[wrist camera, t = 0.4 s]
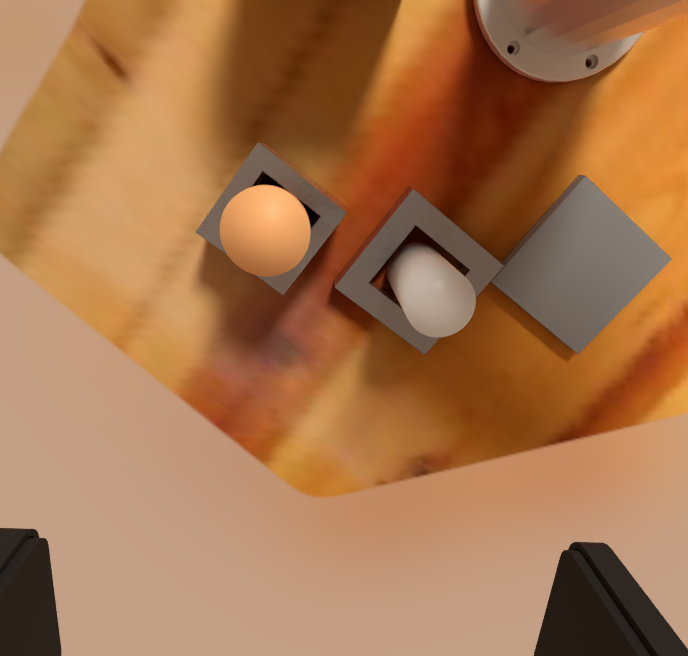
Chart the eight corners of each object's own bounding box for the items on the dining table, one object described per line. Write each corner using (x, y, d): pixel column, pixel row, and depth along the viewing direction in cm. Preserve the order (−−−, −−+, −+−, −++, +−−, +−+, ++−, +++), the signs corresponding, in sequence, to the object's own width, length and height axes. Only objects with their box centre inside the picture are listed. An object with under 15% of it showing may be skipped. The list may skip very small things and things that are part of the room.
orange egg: (264, 162, 34) (253, 166, 28) (326, 212, 35) (328, 224, 30) (219, 226, 35) (201, 240, 30) (281, 271, 36) (275, 293, 31)
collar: (408, 186, 38) (413, 188, 36) (495, 260, 40) (504, 265, 38) (333, 280, 40) (334, 287, 38) (420, 345, 42) (424, 354, 40)
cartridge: (411, 230, 39) (437, 254, 30) (454, 265, 40) (490, 297, 32) (375, 275, 40) (390, 310, 32) (417, 308, 41) (443, 350, 33)
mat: (579, 175, 38) (585, 175, 37) (663, 256, 41) (672, 259, 40) (486, 278, 40) (490, 282, 40) (572, 349, 43) (578, 354, 42)
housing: (265, 142, 36) (258, 142, 32) (343, 204, 38) (346, 213, 33) (210, 221, 38) (195, 232, 33) (287, 277, 40) (283, 295, 35)
